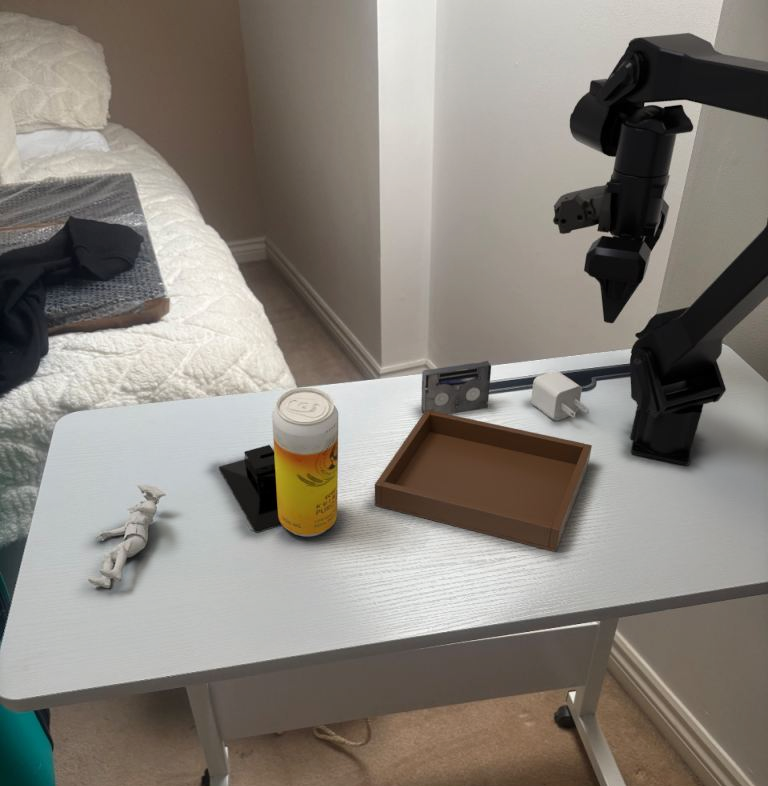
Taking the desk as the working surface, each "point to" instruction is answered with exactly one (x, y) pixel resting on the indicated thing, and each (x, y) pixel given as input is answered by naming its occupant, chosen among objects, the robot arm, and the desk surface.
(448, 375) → the mini dv tape
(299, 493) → the beer can
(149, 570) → the desk surface
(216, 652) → the desk surface
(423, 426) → the tray
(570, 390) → the usb wall charger
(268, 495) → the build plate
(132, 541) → the soldier figure
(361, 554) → the desk surface
